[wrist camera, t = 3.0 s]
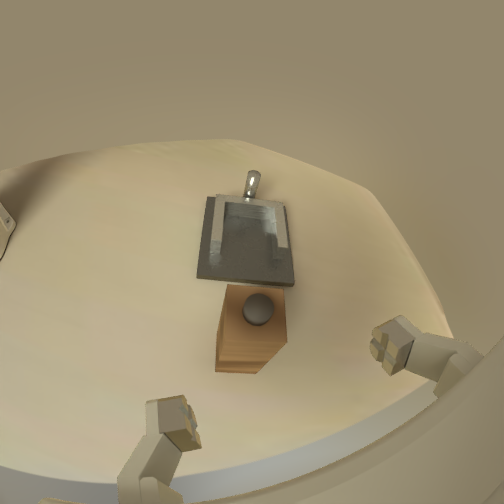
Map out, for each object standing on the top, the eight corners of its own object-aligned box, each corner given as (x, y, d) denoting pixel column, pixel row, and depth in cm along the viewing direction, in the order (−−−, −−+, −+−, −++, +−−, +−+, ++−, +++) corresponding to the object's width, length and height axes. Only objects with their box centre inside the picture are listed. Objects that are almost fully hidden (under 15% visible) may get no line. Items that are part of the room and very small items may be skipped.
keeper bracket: (292, 286, 40) (311, 255, 34) (196, 278, 38) (197, 243, 32) (283, 210, 50) (296, 176, 44) (206, 200, 48) (210, 164, 42)
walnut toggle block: (255, 373, 32) (291, 337, 20) (215, 371, 31) (227, 334, 20) (255, 336, 35) (287, 282, 23) (216, 334, 34) (229, 277, 23)
